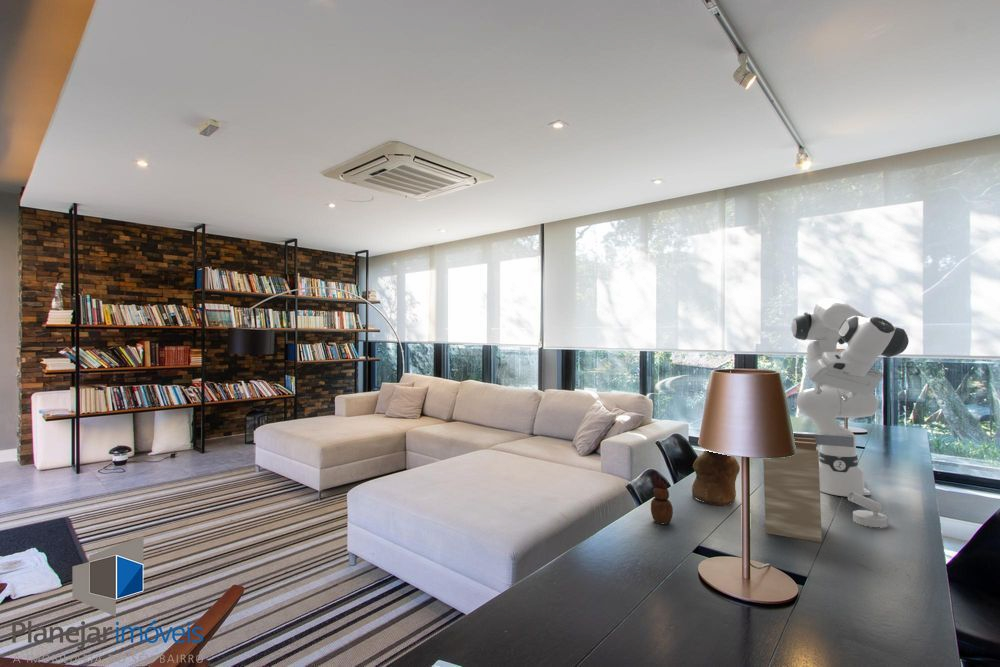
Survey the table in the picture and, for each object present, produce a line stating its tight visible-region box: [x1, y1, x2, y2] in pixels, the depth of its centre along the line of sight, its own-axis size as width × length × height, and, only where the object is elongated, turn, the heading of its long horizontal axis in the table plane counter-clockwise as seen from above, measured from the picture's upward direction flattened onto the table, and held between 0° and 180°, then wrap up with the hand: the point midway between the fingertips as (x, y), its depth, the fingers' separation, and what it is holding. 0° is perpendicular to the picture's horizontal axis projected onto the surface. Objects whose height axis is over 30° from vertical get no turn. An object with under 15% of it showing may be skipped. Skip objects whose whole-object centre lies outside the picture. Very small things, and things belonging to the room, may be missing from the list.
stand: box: [762, 437, 823, 543], centre depth 146 cm, size 14×14×28 cm
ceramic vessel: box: [691, 450, 741, 506], centre depth 171 cm, size 16×22×30 cm
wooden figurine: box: [650, 474, 674, 525], centre depth 153 cm, size 7×6×15 cm
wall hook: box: [847, 492, 889, 529], centre depth 149 cm, size 9×10×10 cm
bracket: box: [792, 430, 854, 447], centre depth 146 cm, size 3×20×8 cm, turn 58°
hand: (829, 396), depth 162 cm, fingers open, 8 cm apart
